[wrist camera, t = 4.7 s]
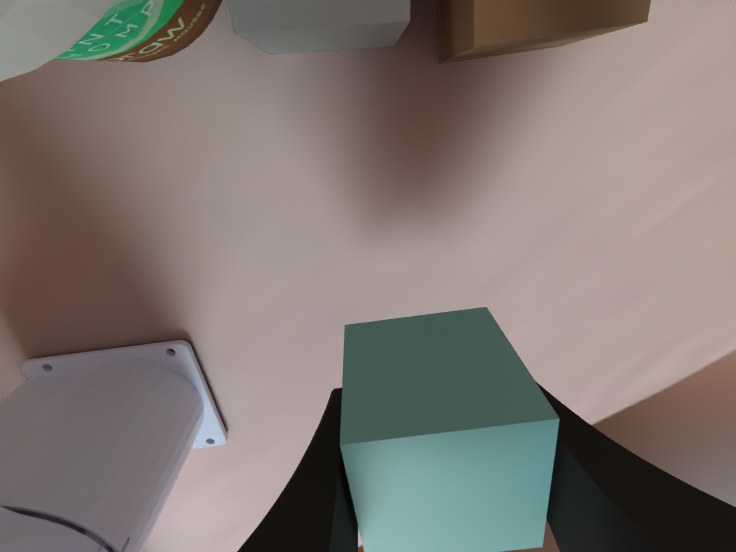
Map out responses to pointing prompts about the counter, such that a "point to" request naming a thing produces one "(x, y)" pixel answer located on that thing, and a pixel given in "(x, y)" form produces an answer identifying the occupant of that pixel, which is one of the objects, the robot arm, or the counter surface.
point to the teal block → (444, 436)
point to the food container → (97, 30)
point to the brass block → (527, 24)
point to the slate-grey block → (319, 24)
